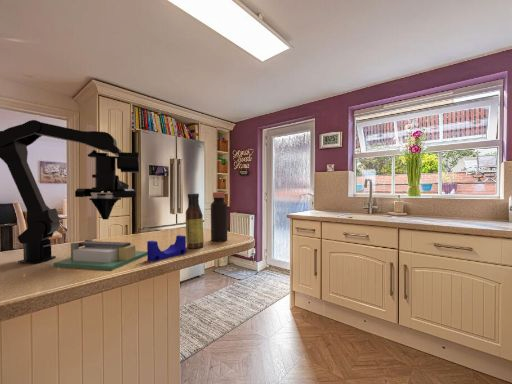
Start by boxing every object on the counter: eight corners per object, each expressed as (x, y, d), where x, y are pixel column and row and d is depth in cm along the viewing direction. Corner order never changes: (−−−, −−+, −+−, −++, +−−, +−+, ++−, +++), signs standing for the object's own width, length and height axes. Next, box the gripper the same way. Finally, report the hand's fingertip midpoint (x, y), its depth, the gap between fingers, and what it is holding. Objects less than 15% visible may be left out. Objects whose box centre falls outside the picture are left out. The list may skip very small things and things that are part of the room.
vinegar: (230, 239, 107) (230, 192, 107) (220, 242, 101) (219, 192, 101) (218, 237, 111) (217, 192, 110) (207, 240, 105) (207, 192, 105)
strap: (76, 247, 78) (75, 242, 78) (84, 245, 81) (84, 240, 81) (123, 249, 74) (123, 244, 74) (130, 247, 77) (130, 242, 77)
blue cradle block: (177, 251, 88) (177, 234, 88) (185, 253, 85) (185, 236, 85) (144, 260, 78) (144, 240, 78) (153, 262, 75) (152, 242, 75)
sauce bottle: (207, 246, 95) (206, 193, 95) (194, 249, 90) (194, 193, 90) (194, 244, 99) (194, 193, 98) (182, 247, 93) (181, 193, 93)
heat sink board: (53, 266, 72) (52, 247, 71) (98, 252, 87) (98, 236, 87) (111, 270, 68) (111, 249, 68) (148, 254, 84) (147, 238, 83)
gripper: (146, 173, 89) (146, 217, 89) (101, 173, 93) (101, 215, 93) (123, 171, 78) (123, 221, 78) (73, 171, 82) (73, 219, 82)
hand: (105, 219), depth 83 cm, fingers closed
